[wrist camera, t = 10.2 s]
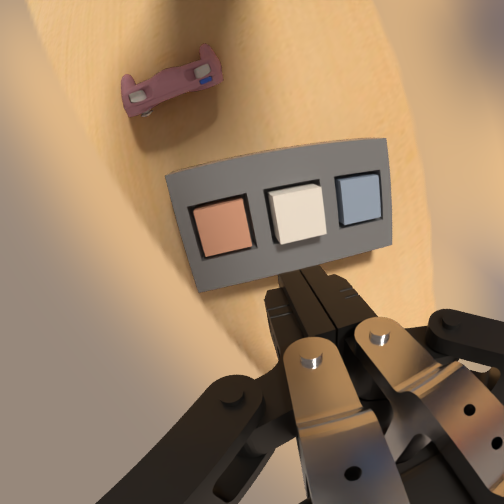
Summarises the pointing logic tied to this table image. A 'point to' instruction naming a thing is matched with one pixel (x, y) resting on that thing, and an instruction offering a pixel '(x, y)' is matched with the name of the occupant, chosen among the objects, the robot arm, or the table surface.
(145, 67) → the table surface
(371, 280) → the table surface
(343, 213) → the slate blue key
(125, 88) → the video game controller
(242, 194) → the key console
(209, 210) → the terracotta key
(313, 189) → the off-white key
